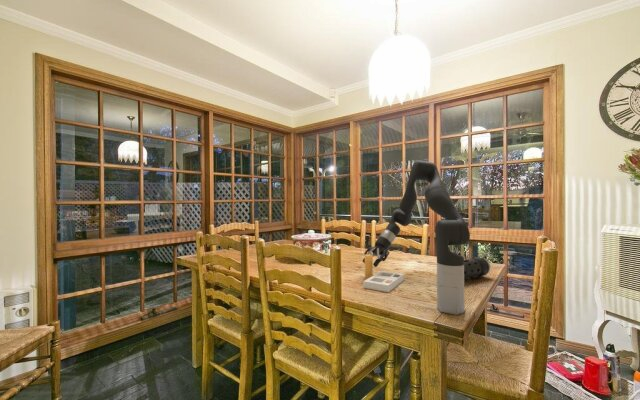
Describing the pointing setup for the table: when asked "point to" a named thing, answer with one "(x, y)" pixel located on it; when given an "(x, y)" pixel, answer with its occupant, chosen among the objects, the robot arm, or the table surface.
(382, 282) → the socket plate
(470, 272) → the muzzle brake
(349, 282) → the table surface
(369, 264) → the plug
